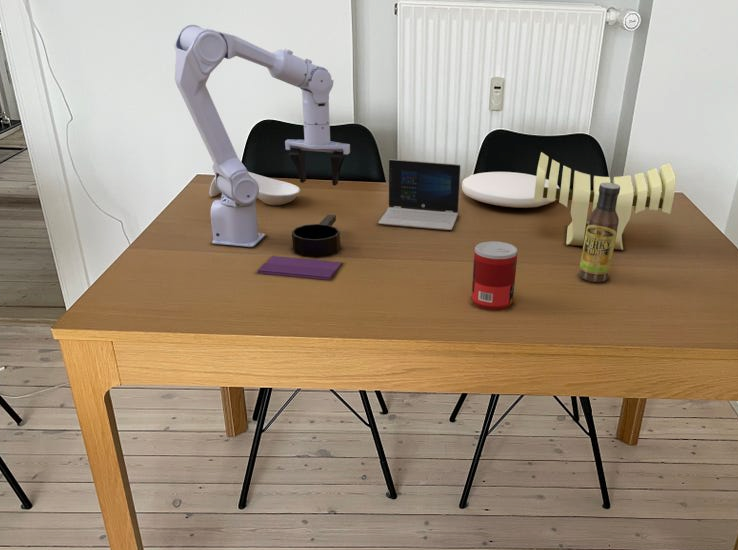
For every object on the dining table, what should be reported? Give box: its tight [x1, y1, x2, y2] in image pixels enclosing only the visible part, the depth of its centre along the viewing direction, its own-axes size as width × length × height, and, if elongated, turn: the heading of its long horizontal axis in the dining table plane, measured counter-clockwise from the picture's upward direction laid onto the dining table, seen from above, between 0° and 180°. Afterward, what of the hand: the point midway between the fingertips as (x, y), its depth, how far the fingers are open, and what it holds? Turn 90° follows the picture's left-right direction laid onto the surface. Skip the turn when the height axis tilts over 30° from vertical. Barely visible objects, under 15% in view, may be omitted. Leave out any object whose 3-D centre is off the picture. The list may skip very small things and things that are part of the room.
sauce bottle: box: [578, 182, 620, 283], centre depth 148 cm, size 6×6×20 cm
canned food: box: [471, 241, 518, 311], centre depth 137 cm, size 8×8×11 cm
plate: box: [461, 171, 561, 209], centre depth 198 cm, size 28×6×27 cm
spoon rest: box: [209, 171, 301, 206], centre depth 187 cm, size 24×12×7 cm, turn 80°
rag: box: [257, 255, 343, 281], centre depth 150 cm, size 15×9×1 cm, turn 82°
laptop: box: [377, 158, 461, 231], centre depth 177 cm, size 18×13×13 cm
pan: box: [291, 214, 341, 258], centre depth 163 cm, size 17×10×4 cm, turn 172°
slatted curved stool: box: [534, 151, 677, 251], centre depth 169 cm, size 30×16×18 cm, turn 80°
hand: (319, 182), depth 169 cm, fingers open, 7 cm apart
